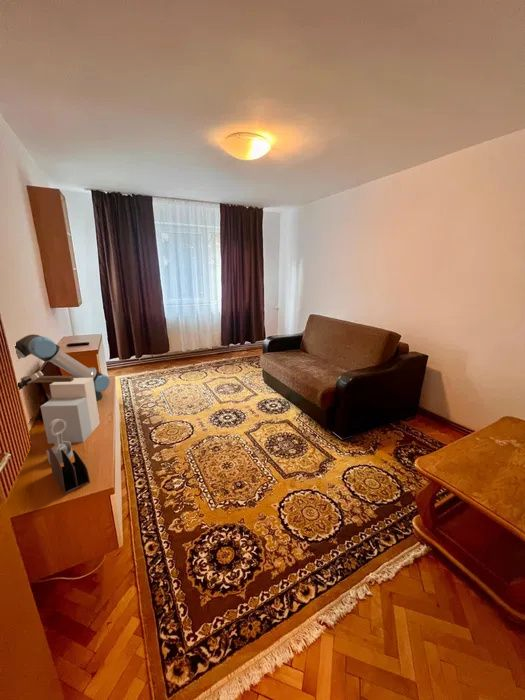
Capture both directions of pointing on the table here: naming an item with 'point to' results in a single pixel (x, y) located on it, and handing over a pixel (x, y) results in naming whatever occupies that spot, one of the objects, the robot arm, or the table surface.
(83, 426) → the stepped parts shelf
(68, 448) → the engine component
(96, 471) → the table surface
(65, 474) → the letter holder
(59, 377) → the walnut axle bar
